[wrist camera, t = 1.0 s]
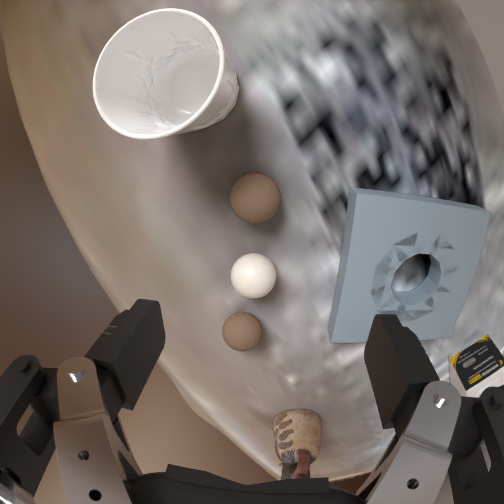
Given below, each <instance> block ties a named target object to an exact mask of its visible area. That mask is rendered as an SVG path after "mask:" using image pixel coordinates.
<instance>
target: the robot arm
mask: <svg viewBox="0 0 504 504" xmlns="http://www.w3.org/2000/svg"><path fill="white" fill-rule="evenodd" d="M164 344H165V330H164V325H163V319H162V314H161V308H160V304H159V302H158V301H154V300H146V299H138V300H137V301H136V302H135V304H134V305H133V306H132V307H131V309H130V310H125V311H123V312H122V313H120V314H118V315H117V316H115V318H114V319H113V320H112V322H111V323H110V324H109V327H107V328H106V329H105V330H104V333H102V334H101V335H100V337H99V338H98V339H97V341H96V342H95V343H94V344H93V346H92V347H91V348H90V350H89V351H88V352H87V353H86V355H85V356H84V357H74V358H71V359H68V360H67V361H65V362H64V363H63V364H62V365H61V366H60V367H59V368H42V366H41V364H40V362H39V360H38V359H37V358H36V357H35V356H33V355H24V356H20V357H18V358H17V359H15V360H14V361H13V362H12V363H11V364H10V366H9V367H8V368H7V369H6V371H5V372H4V373H3V374H2V376H1V377H0V504H35V501H34V498H33V497H34V495H35V493H36V490H37V488H38V486H39V483H40V481H41V479H42V476H43V474H44V472H45V470H46V467H47V465H48V463H49V461H50V459H51V457H52V455H53V453H54V451H55V449H56V452H57V459H58V464H59V469H60V474H61V479H62V483H63V488H64V492H65V496H66V499H67V503H68V504H433V503H434V501H435V499H436V497H437V495H438V493H439V490H440V488H441V485H442V483H443V481H444V478H445V476H446V473H447V471H448V474H449V479H450V483H451V488H452V494H453V499H454V504H504V390H502V389H501V388H498V387H493V386H492V387H488V388H486V389H485V390H484V391H483V392H482V394H481V395H480V397H479V398H477V397H466V396H461V395H460V393H459V391H458V390H457V389H456V387H454V386H453V385H452V384H450V383H448V382H445V381H440V379H439V377H438V375H437V373H436V371H435V369H434V367H433V365H432V363H431V361H430V359H429V358H428V356H427V354H425V350H424V348H423V346H421V343H420V341H419V339H418V337H417V335H416V334H415V333H414V332H412V331H411V330H410V329H409V328H408V327H403V326H402V324H401V322H400V320H399V319H398V317H397V315H396V314H376V315H375V316H374V319H373V322H372V326H371V329H370V332H369V336H368V339H367V342H366V346H365V351H364V359H365V364H366V367H367V370H368V374H369V377H370V381H371V384H372V388H373V392H374V395H375V399H376V403H377V407H378V410H379V414H380V418H381V422H382V426H383V429H389V428H395V432H396V434H395V435H394V437H393V438H392V440H391V442H390V444H389V445H388V447H387V449H386V450H385V452H384V454H383V456H382V457H381V459H380V461H379V462H378V464H377V465H376V467H375V469H374V470H373V472H372V473H371V475H370V476H369V478H368V479H367V480H366V482H365V483H364V484H363V485H362V486H361V488H360V489H359V490H358V492H357V493H356V494H353V493H351V492H348V491H346V490H343V489H340V488H336V487H330V486H329V479H328V478H299V479H291V478H289V479H284V480H278V481H273V482H267V483H260V484H253V485H244V484H240V483H237V482H234V481H231V480H228V479H225V478H222V477H219V476H217V475H214V474H212V473H209V472H206V471H201V470H196V469H190V468H185V467H181V466H175V465H171V464H168V466H167V469H166V472H156V473H148V474H143V473H142V472H141V470H140V468H139V466H138V464H137V462H136V460H135V458H134V456H133V453H132V451H131V448H130V445H129V443H128V440H127V437H126V434H125V431H124V429H123V425H122V422H121V419H120V417H119V415H118V413H119V411H120V409H121V407H122V408H125V409H129V410H133V409H134V407H135V405H136V402H137V400H138V398H139V396H140V394H141V392H142V390H143V388H144V386H145V384H146V382H147V380H148V378H149V376H150V374H151V372H152V370H153V368H154V366H155V364H156V362H157V360H158V358H159V356H160V354H161V352H162V350H163V348H164ZM28 406H29V407H30V408H31V410H32V411H33V413H32V415H31V416H30V418H29V420H28V421H27V423H26V425H25V427H24V428H23V430H22V432H21V433H20V435H19V436H18V434H17V430H16V427H17V424H18V422H19V420H20V418H21V417H22V415H23V414H24V412H25V410H26V409H27V407H28ZM484 442H485V444H486V447H487V450H488V453H489V456H490V459H491V468H490V471H489V473H488V469H487V466H486V462H485V459H484V456H483V453H482V450H481V447H480V446H481V445H482V444H483V443H484Z"/></svg>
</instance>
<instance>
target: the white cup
mask: <svg viewBox="0 0 504 504" xmlns="http://www.w3.org/2000/svg"><path fill="white" fill-rule="evenodd" d="M238 92H239V84H238V80H237V76H236V71H235V69H234V66H233V63H232V61H231V59H230V57H229V55H228V53H227V51H226V49H225V47H224V45H223V43H222V41H221V39H220V37H219V35H218V33H217V32H216V30H215V29H214V28H213V26H212V25H211V24H210V23H209V22H208V21H206V20H205V19H204V18H202V17H201V16H199V15H197V14H195V13H193V12H190V11H186V10H182V9H160V10H155V11H151V12H148V13H145V14H143V15H140V16H138V17H136V18H135V19H133V20H131V21H130V22H128V23H127V24H125V25H124V26H123V27H122V28H120V29H119V30H118V31H117V32H116V33H115V34H114V35H113V36H112V38H111V39H110V40H109V41H108V43H107V44H106V46H105V47H104V49H103V51H102V52H101V54H100V57H99V59H98V61H97V64H96V67H95V72H94V77H93V94H94V100H95V103H96V106H97V109H98V111H99V113H100V115H101V116H102V118H103V119H104V121H105V122H106V123H107V124H108V125H109V126H110V127H111V128H112V129H114V130H115V131H117V132H118V133H120V134H122V135H124V136H127V137H130V138H134V139H142V140H149V139H158V138H162V137H167V136H171V135H176V134H182V133H187V132H191V131H195V130H199V129H202V128H205V127H209V126H211V125H213V124H215V123H217V122H219V121H221V120H223V119H224V118H225V117H226V116H227V115H228V114H229V112H230V111H231V110H232V109H233V107H234V106H235V105H236V101H237V96H238Z"/></svg>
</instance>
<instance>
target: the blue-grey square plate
mask: <svg viewBox="0 0 504 504" xmlns="http://www.w3.org/2000/svg"><path fill="white" fill-rule="evenodd" d="M490 216H491V213H490V212H488V211H487V210H485V209H483V208H481V207H479V206H476V205H471V204H466V203H460V202H455V201H449V200H443V199H437V198H431V197H424V196H417V195H410V194H403V193H395V192H387V191H379V190H370V189H361V188H351V187H350V188H349V198H348V207H347V215H346V223H345V231H344V238H343V245H342V252H341V258H340V265H339V271H338V277H337V283H336V288H335V294H334V299H333V304H332V309H331V314H330V319H329V324H328V331H329V336H330V342H331V343H363V342H367V339H368V336H369V332H370V329H371V326H372V322H373V319H374V316H375V315H376V314H396V315H397V317H398V319H399V320H400V322H401V324H402V326H403V327H408V328H409V329H410V330H411V331H412V332H414V333H415V334H416V335H417V337H418V339H419V340H428V339H440V338H449V337H450V335H451V333H452V331H453V329H454V326H455V324H456V322H457V319H458V317H459V315H460V312H461V310H462V307H463V305H464V302H465V300H466V297H467V295H468V292H469V289H470V286H471V284H472V281H473V278H474V275H475V272H476V269H477V265H478V262H479V259H480V255H481V252H482V248H483V245H484V241H485V237H486V233H487V229H488V225H489V220H490ZM418 253H419V254H429V256H430V260H431V265H430V269H429V272H428V276H427V277H426V278H425V279H424V281H423V282H422V283H421V284H420V285H419V286H418V287H416V288H414V289H412V290H410V291H408V292H395V291H394V290H392V289H391V284H392V280H393V276H394V273H395V271H396V270H397V269H398V268H399V267H400V265H401V264H402V263H403V262H404V260H406V259H408V258H410V257H412V256H414V255H416V254H418Z"/></svg>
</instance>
